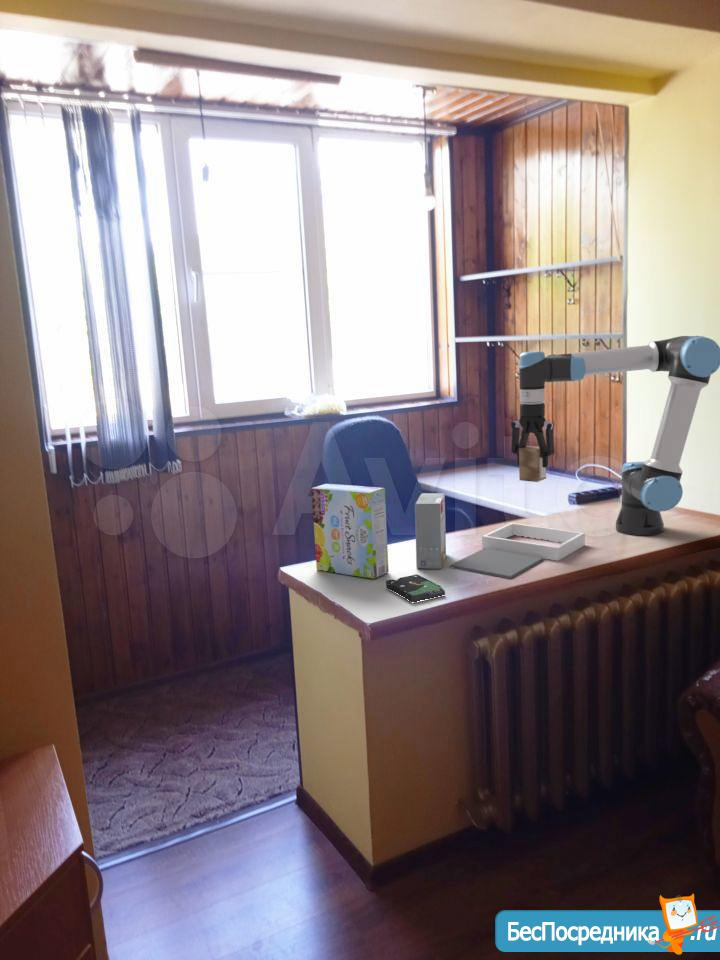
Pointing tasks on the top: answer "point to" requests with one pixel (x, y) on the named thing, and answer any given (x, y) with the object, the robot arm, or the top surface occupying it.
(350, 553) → the snack box
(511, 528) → the bin
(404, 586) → the disk drive
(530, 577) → the top surface
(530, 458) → the walnut block
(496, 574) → the mat
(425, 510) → the hard drive box
